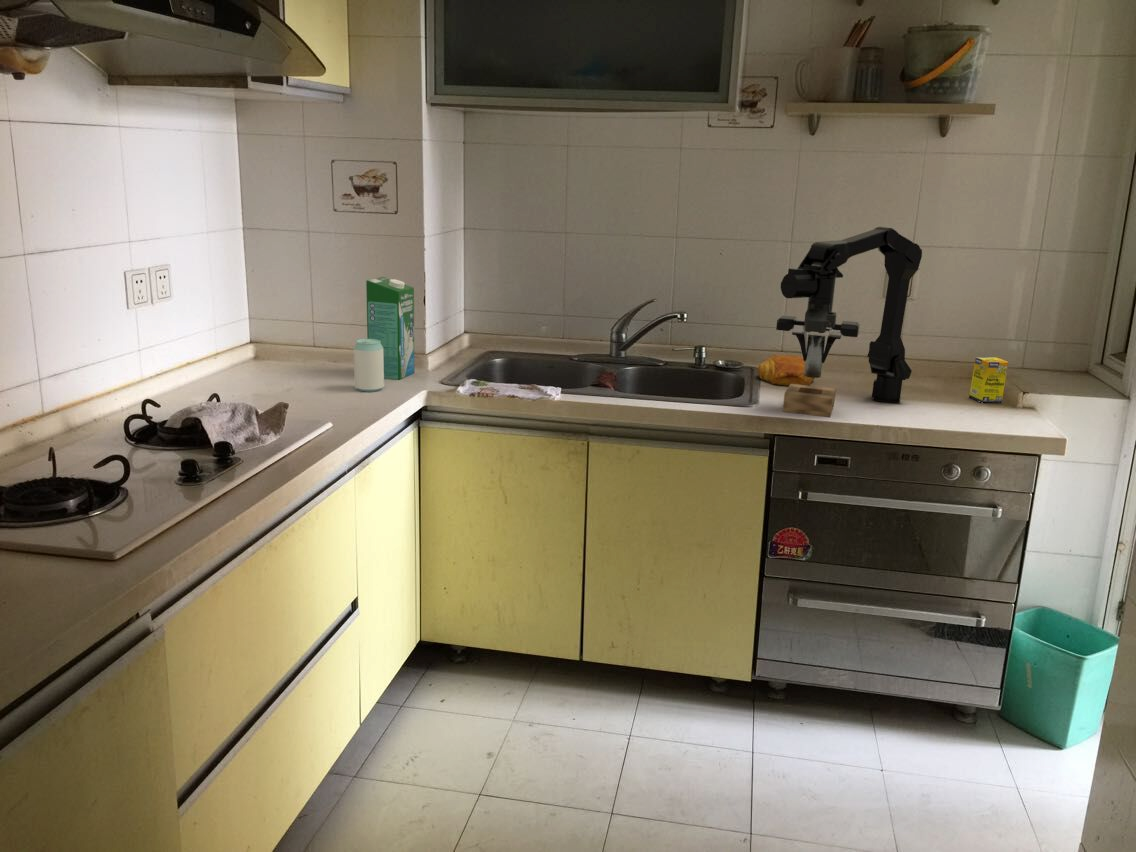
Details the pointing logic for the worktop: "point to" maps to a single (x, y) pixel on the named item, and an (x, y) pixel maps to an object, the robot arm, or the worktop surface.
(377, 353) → the can
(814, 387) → the bore block
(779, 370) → the croissant
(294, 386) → the worktop surface
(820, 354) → the pin
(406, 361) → the milk carton
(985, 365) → the supplement box
